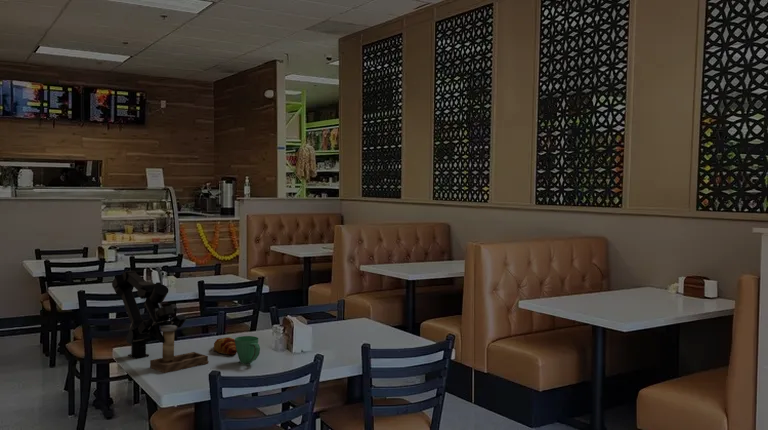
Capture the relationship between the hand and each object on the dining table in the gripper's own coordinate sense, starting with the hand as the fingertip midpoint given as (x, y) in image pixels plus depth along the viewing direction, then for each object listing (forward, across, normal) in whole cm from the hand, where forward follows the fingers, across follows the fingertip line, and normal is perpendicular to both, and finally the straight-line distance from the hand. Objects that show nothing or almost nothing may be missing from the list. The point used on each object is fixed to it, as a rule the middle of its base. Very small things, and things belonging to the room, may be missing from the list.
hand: (170, 341), depth 264 cm
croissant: (+3, +33, +14) cm, 36 cm away
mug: (+19, +27, -3) cm, 33 cm away
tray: (+7, +5, +9) cm, 12 cm away
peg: (+4, 0, +6) cm, 8 cm away
